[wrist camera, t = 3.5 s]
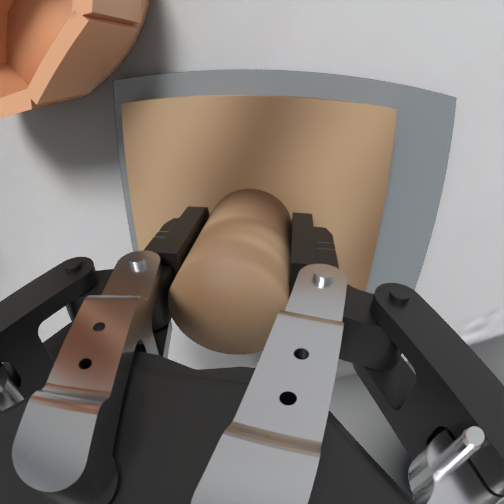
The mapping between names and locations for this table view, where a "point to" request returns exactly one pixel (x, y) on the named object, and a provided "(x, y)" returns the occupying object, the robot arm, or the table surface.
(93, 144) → the table surface
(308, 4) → the table surface
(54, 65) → the bowl
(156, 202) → the lid
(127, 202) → the mat
